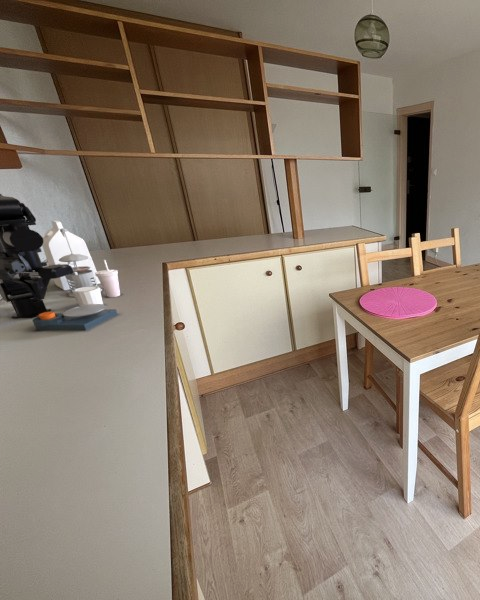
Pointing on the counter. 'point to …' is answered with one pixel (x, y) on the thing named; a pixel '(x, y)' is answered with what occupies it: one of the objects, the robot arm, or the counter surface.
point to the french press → (78, 271)
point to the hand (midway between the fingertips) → (41, 299)
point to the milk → (65, 251)
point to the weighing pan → (84, 310)
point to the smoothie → (109, 281)
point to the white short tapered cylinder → (88, 295)
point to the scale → (74, 321)
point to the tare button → (46, 315)
